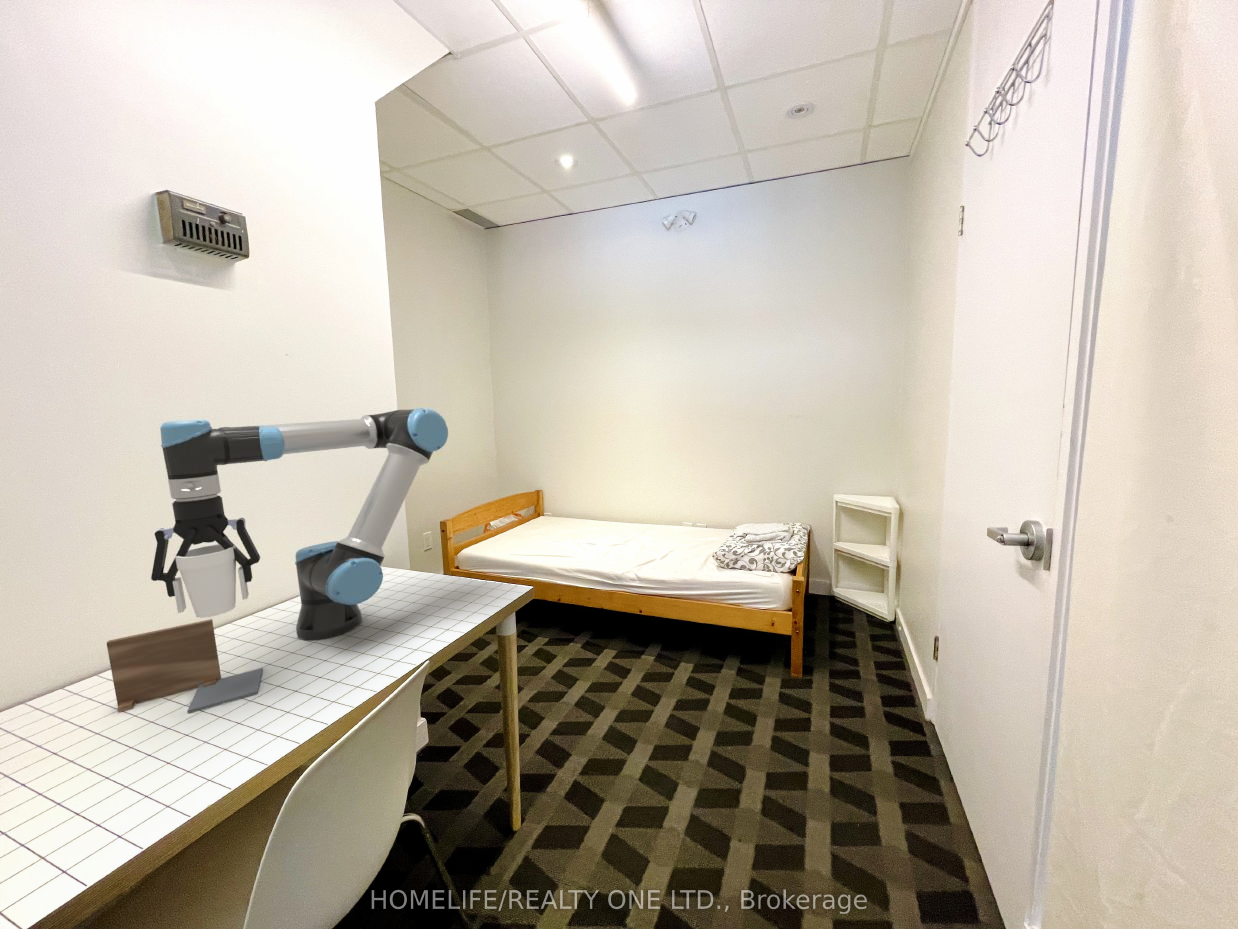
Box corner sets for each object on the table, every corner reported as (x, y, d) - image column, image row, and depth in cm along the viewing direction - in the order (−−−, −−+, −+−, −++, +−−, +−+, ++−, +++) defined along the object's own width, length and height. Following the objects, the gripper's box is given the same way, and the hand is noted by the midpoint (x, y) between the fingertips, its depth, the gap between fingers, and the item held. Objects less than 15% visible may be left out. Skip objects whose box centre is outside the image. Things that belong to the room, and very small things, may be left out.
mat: (199, 687, 102) (199, 684, 102) (262, 670, 108) (262, 667, 108) (187, 713, 93) (187, 710, 93) (257, 693, 99) (257, 691, 99)
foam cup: (255, 603, 101) (245, 544, 99) (205, 623, 92) (194, 559, 91) (225, 599, 104) (216, 542, 102) (174, 618, 95) (163, 556, 94)
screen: (123, 700, 98) (112, 636, 96) (222, 675, 106) (213, 615, 105) (114, 713, 94) (102, 646, 92) (218, 685, 102) (209, 624, 101)
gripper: (112, 509, 86) (135, 625, 89) (263, 492, 98) (278, 595, 101) (126, 503, 92) (147, 611, 95) (266, 487, 104) (281, 585, 107)
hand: (214, 603), depth 98 cm, fingers closed on foam cup, 9 cm apart
